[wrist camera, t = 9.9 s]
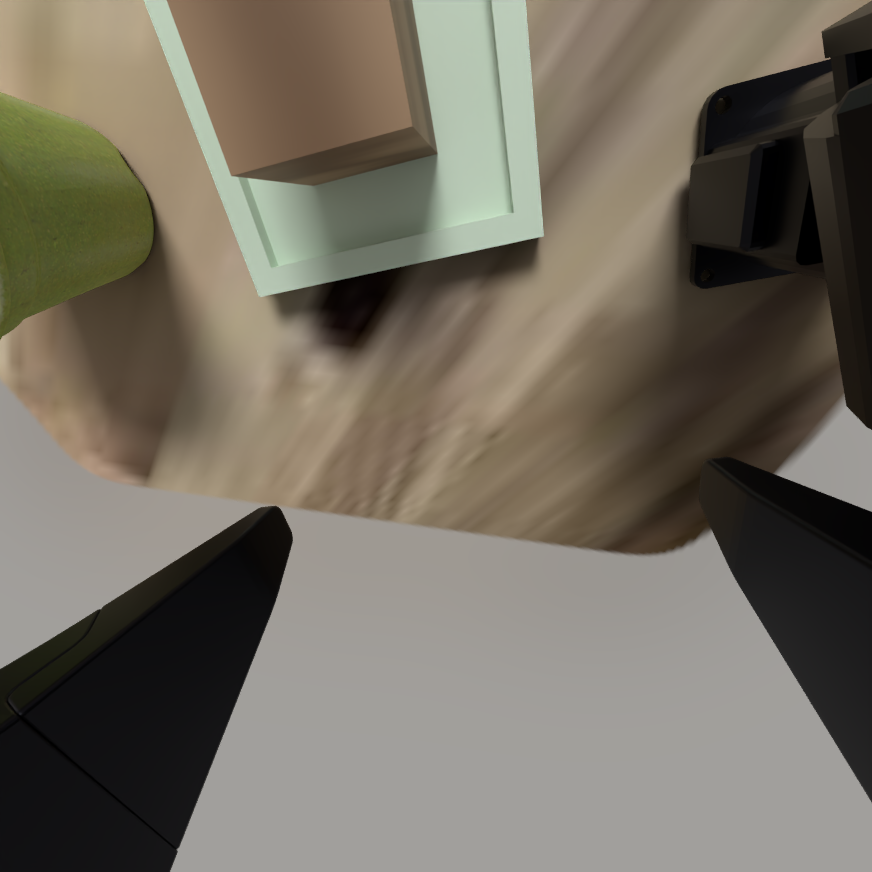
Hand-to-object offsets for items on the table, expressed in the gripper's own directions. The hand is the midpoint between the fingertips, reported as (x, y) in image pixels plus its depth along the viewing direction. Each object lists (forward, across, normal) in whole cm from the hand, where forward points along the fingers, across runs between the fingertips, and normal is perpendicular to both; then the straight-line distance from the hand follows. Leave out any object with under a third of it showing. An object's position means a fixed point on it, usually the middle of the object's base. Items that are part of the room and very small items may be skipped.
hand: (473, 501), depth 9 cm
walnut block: (+11, +3, -10) cm, 15 cm away
